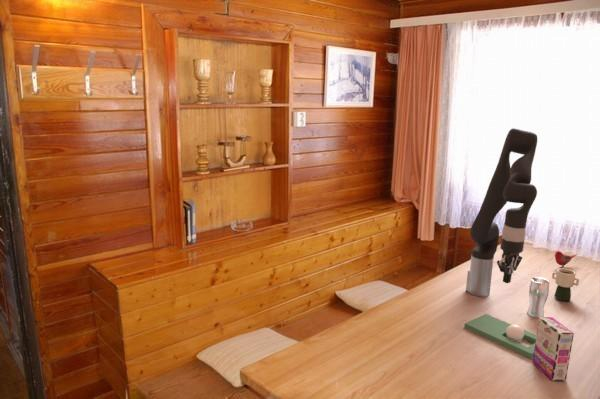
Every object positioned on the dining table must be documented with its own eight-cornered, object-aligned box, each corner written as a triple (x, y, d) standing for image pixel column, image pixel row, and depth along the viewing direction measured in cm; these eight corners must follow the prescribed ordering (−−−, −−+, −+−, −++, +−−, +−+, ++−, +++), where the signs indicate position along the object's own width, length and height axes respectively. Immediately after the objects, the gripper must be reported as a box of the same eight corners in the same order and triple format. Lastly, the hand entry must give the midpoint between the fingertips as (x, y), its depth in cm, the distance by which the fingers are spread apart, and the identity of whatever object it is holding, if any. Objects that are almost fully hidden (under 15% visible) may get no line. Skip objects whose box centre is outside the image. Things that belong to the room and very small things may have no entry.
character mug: (578, 301, 204) (583, 273, 201) (571, 305, 199) (576, 277, 196) (552, 292, 212) (556, 265, 209) (545, 296, 208) (549, 269, 205)
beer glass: (547, 319, 186) (552, 284, 183) (528, 317, 188) (533, 282, 184) (542, 311, 193) (547, 277, 190) (524, 310, 194) (528, 276, 191)
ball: (521, 336, 164) (512, 347, 167) (530, 331, 167) (521, 342, 171) (508, 323, 168) (499, 334, 171) (517, 319, 171) (508, 330, 174)
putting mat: (464, 328, 178) (464, 323, 178) (485, 318, 186) (485, 313, 186) (530, 359, 158) (531, 353, 158) (551, 346, 166) (552, 341, 166)
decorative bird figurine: (549, 269, 241) (552, 250, 239) (572, 264, 249) (575, 246, 246) (554, 271, 239) (557, 252, 236) (577, 266, 246) (580, 248, 244)
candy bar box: (567, 381, 146) (575, 333, 142) (552, 381, 146) (559, 333, 142) (546, 361, 157) (552, 316, 153) (531, 361, 157) (538, 316, 153)
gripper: (513, 232, 174) (507, 275, 179) (492, 237, 167) (486, 282, 171) (533, 237, 169) (526, 282, 173) (512, 243, 161) (505, 290, 165)
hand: (506, 282), depth 172 cm, fingers closed
